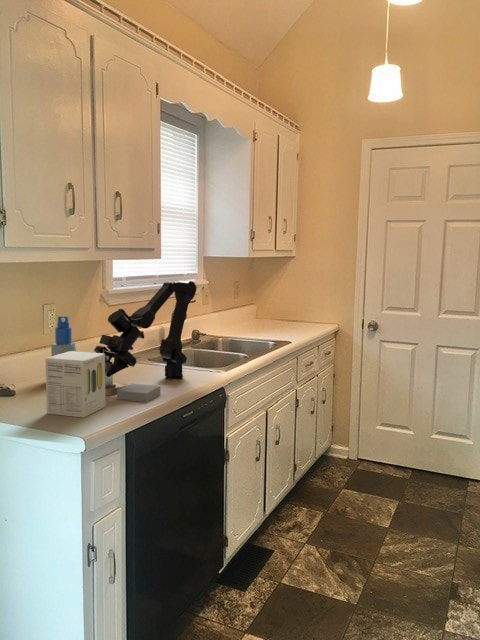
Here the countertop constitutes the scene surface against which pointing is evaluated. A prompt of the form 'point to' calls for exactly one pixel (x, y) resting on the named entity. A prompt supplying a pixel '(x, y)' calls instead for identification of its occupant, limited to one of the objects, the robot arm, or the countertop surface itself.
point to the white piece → (107, 366)
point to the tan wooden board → (114, 388)
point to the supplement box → (75, 383)
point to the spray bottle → (62, 337)
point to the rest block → (138, 392)
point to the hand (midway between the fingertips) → (101, 374)
